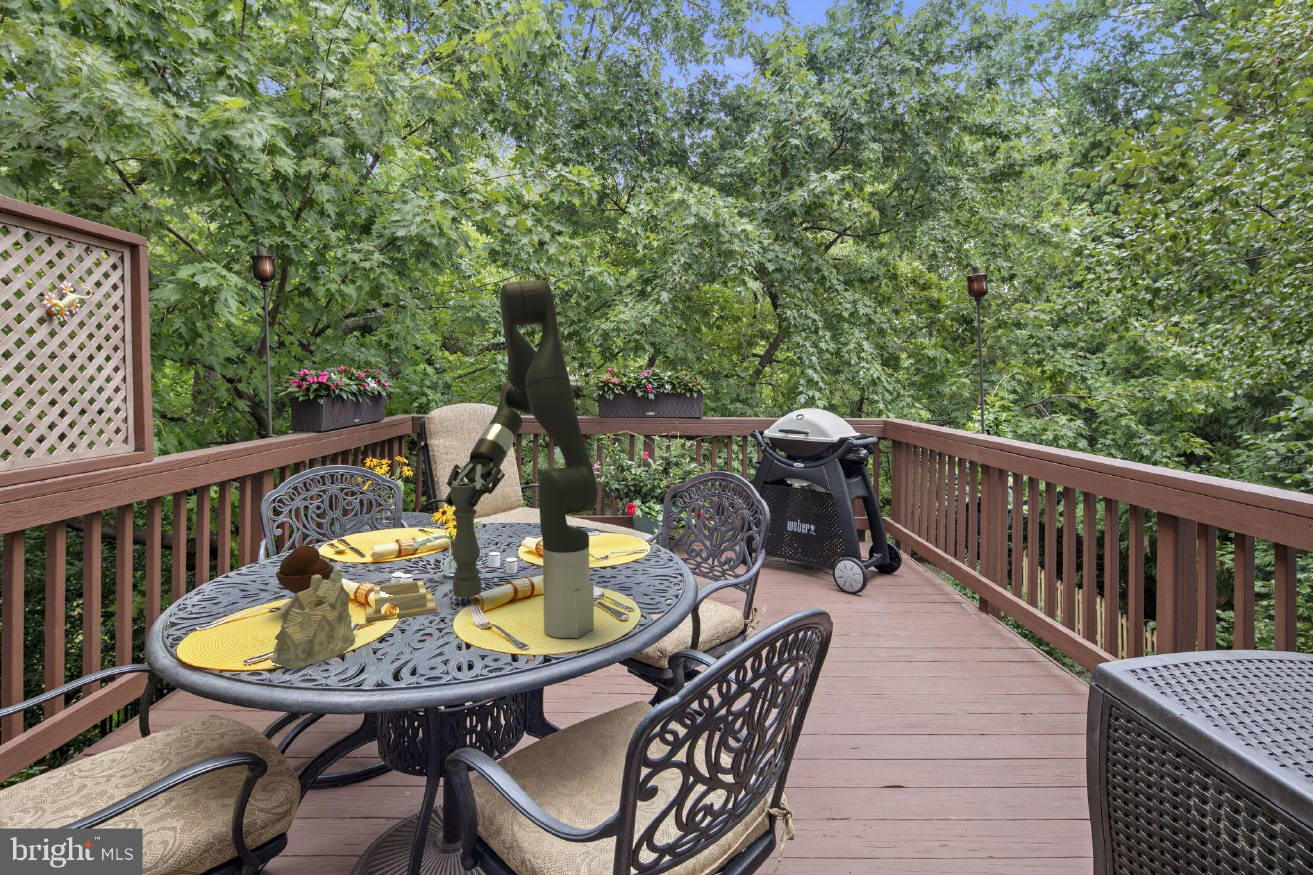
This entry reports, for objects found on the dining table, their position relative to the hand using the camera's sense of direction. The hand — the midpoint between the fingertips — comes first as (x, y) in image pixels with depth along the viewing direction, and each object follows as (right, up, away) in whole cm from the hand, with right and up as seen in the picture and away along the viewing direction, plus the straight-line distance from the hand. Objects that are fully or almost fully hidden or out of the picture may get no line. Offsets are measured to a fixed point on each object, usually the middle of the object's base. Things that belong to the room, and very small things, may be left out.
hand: (459, 505), depth 144 cm
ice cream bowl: (-32, -23, -3) cm, 40 cm away
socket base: (-13, -23, 0) cm, 26 cm away
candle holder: (+1, -21, +3) cm, 21 cm away
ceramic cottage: (-22, -25, -22) cm, 40 cm away
